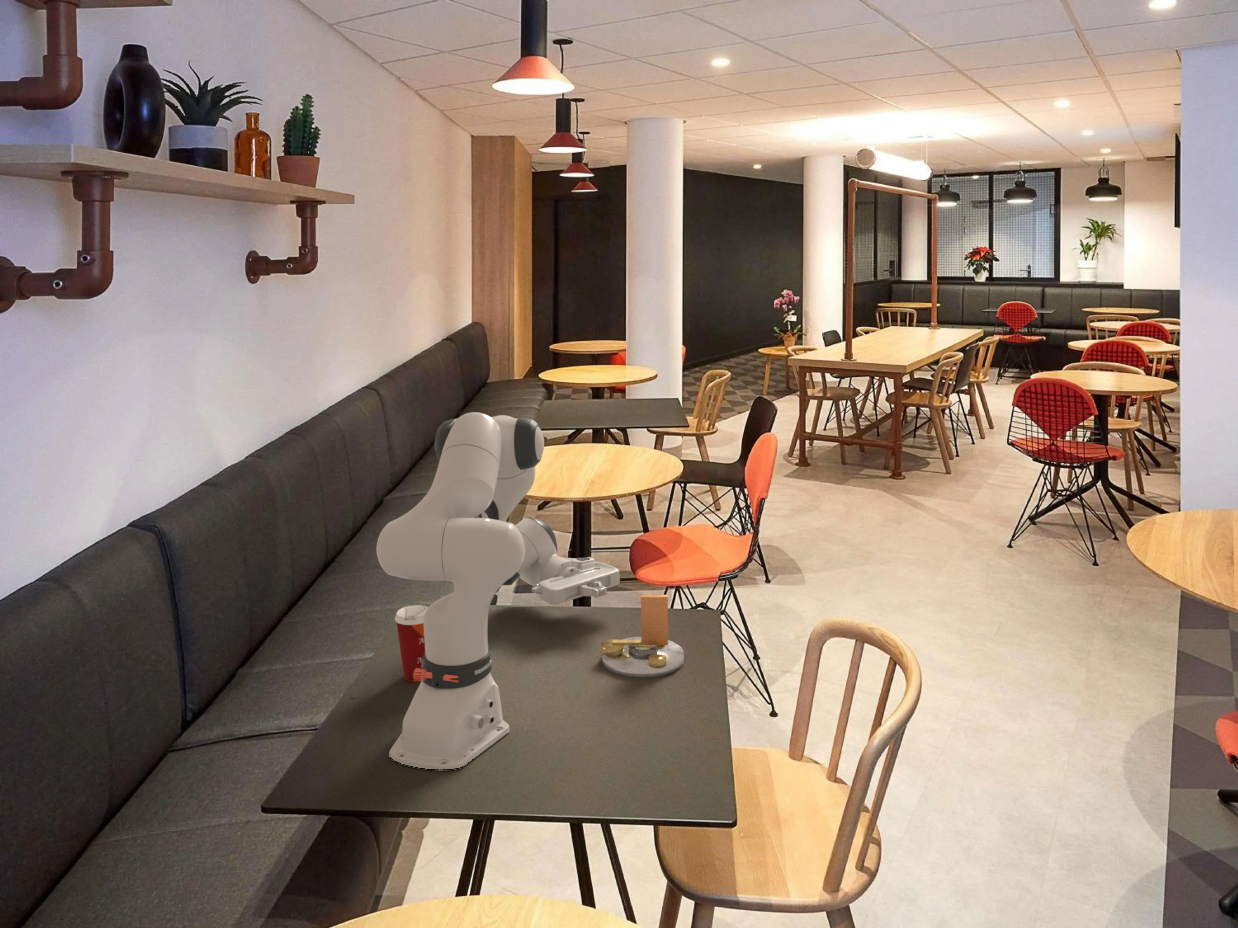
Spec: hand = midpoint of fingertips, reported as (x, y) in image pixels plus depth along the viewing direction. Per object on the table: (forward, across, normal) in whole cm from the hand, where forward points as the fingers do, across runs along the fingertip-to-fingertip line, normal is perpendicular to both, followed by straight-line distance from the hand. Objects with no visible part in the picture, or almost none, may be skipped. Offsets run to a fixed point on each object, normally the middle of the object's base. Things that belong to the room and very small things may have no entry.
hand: (602, 592), depth 213 cm
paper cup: (-8, -42, +9) cm, 44 cm away
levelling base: (+18, -4, +9) cm, 20 cm away
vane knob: (+16, -5, +7) cm, 18 cm away
